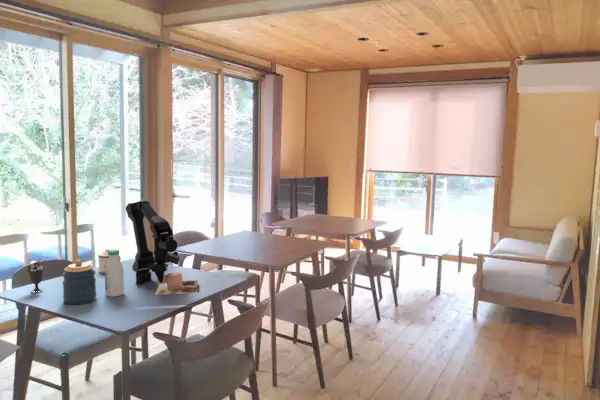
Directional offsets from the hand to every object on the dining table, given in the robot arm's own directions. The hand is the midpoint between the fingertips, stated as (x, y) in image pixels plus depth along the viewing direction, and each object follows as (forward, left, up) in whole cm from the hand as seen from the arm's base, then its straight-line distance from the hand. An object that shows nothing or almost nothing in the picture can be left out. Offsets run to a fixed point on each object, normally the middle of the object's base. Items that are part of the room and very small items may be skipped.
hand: (161, 281), depth 219 cm
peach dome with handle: (+4, 0, -3) cm, 5 cm away
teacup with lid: (-30, +40, -5) cm, 50 cm away
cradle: (+7, 0, -4) cm, 8 cm away
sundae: (-55, +7, -5) cm, 55 cm away
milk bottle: (-20, -2, -5) cm, 21 cm away
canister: (-33, -8, -5) cm, 34 cm away
